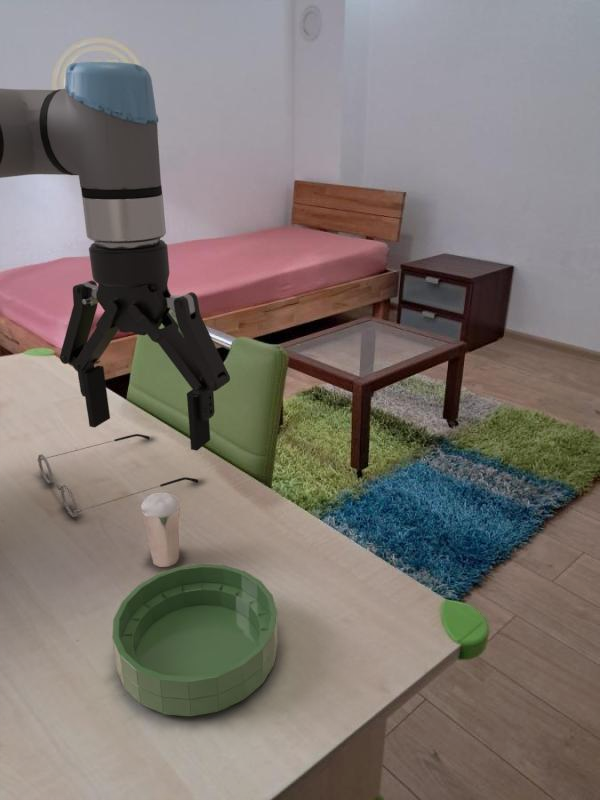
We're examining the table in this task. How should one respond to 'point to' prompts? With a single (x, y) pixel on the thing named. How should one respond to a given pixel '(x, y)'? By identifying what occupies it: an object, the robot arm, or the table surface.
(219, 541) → the table surface
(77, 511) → the eyeglasses
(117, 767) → the table surface
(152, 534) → the milkshake
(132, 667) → the bowl
